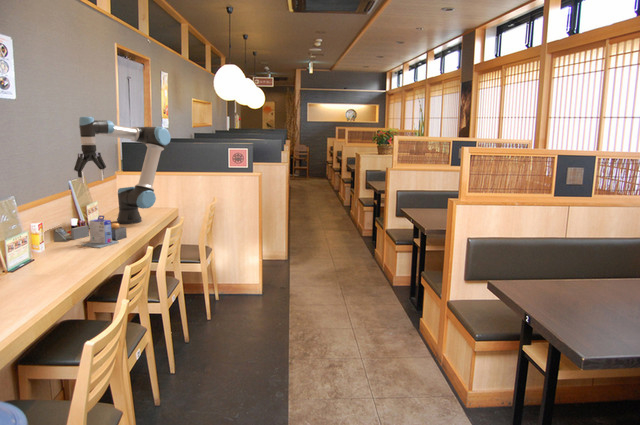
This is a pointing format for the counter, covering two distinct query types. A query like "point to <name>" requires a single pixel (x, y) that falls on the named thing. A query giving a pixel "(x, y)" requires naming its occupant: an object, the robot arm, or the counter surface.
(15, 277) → the counter surface
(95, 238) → the ink cartridge box
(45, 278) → the counter surface
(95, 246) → the rubber mat
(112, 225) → the plunger
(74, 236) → the cartridge holder
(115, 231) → the block
